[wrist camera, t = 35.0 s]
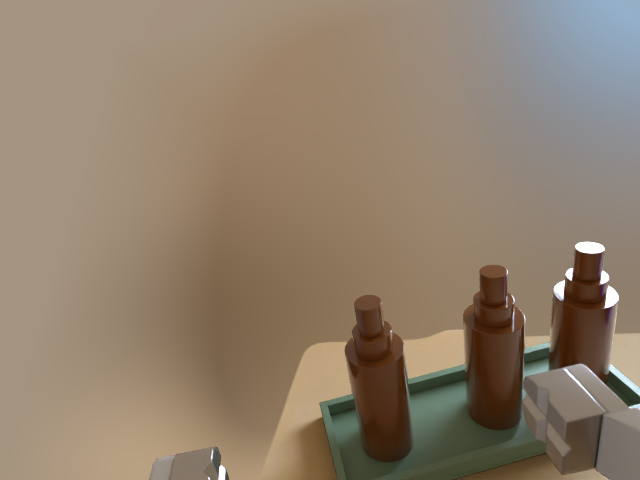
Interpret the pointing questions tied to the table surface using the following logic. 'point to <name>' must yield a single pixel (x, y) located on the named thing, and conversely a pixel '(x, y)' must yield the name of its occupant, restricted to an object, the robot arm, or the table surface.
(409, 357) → the table surface
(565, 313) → the row bottle
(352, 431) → the tray
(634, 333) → the table surface
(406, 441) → the amber bottle
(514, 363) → the row bottle
